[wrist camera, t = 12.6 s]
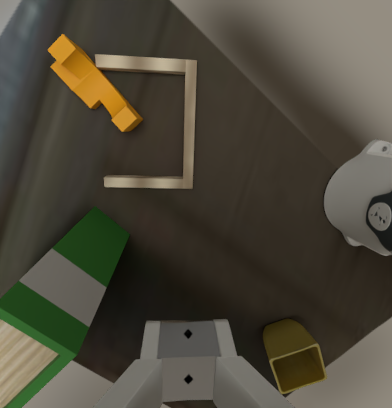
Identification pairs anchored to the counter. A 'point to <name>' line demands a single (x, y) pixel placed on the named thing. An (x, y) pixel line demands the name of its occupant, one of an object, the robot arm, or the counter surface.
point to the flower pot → (293, 355)
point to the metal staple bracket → (190, 72)
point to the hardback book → (55, 306)
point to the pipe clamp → (91, 83)
